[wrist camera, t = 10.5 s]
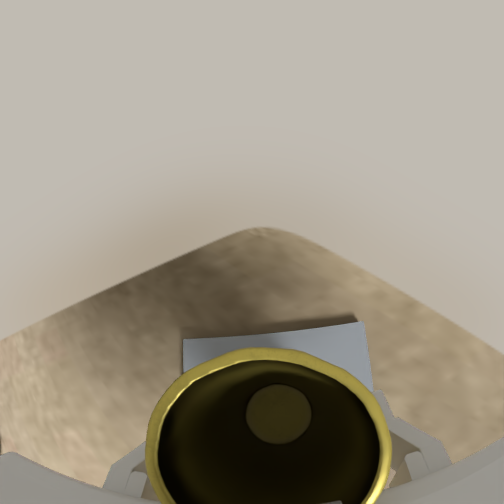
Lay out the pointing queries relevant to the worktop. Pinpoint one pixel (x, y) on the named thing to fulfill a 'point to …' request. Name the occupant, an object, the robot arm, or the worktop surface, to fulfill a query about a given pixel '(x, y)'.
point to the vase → (267, 433)
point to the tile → (295, 347)
